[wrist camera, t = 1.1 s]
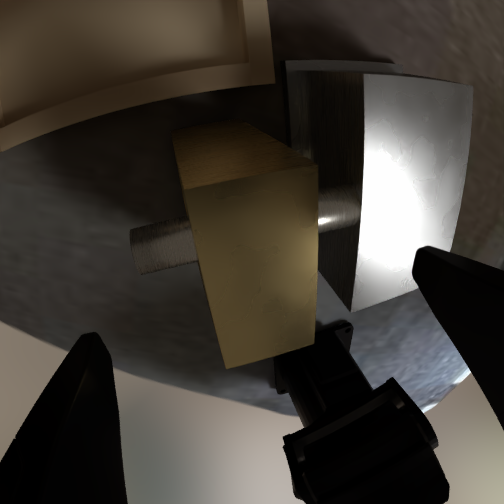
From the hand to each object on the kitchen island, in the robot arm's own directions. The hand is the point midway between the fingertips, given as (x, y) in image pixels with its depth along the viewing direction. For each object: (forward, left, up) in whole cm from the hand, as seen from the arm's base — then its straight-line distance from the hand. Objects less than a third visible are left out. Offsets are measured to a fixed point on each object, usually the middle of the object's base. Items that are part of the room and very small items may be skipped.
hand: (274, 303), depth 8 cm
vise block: (0, -4, -9) cm, 10 cm away
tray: (+11, +4, -9) cm, 15 cm away
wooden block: (0, 0, -8) cm, 8 cm away
